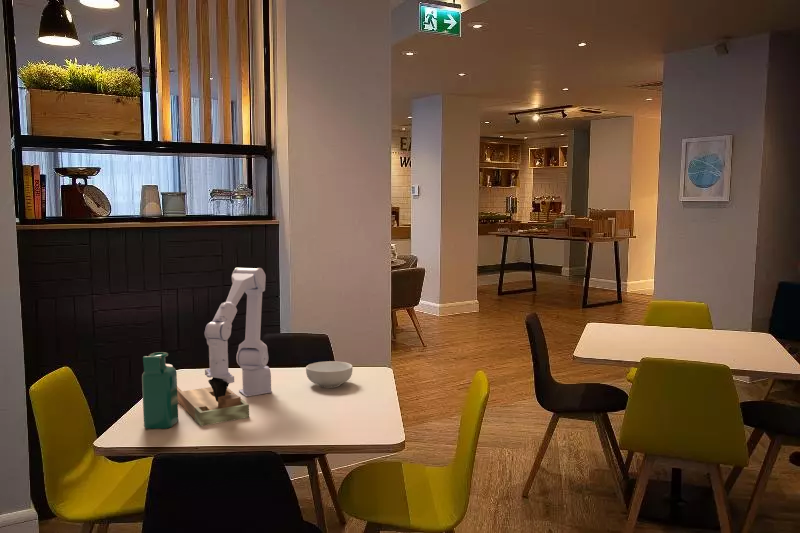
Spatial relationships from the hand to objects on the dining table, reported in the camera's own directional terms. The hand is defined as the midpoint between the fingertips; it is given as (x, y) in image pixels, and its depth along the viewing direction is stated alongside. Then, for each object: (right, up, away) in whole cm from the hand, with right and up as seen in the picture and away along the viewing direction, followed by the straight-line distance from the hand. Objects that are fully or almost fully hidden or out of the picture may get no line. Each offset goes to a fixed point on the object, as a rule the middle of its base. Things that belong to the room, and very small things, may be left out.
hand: (220, 400), depth 212 cm
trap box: (-4, -3, +4) cm, 7 cm away
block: (+4, -2, -4) cm, 6 cm away
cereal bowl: (+32, -1, +31) cm, 44 cm away
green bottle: (-14, -5, -13) cm, 20 cm away
